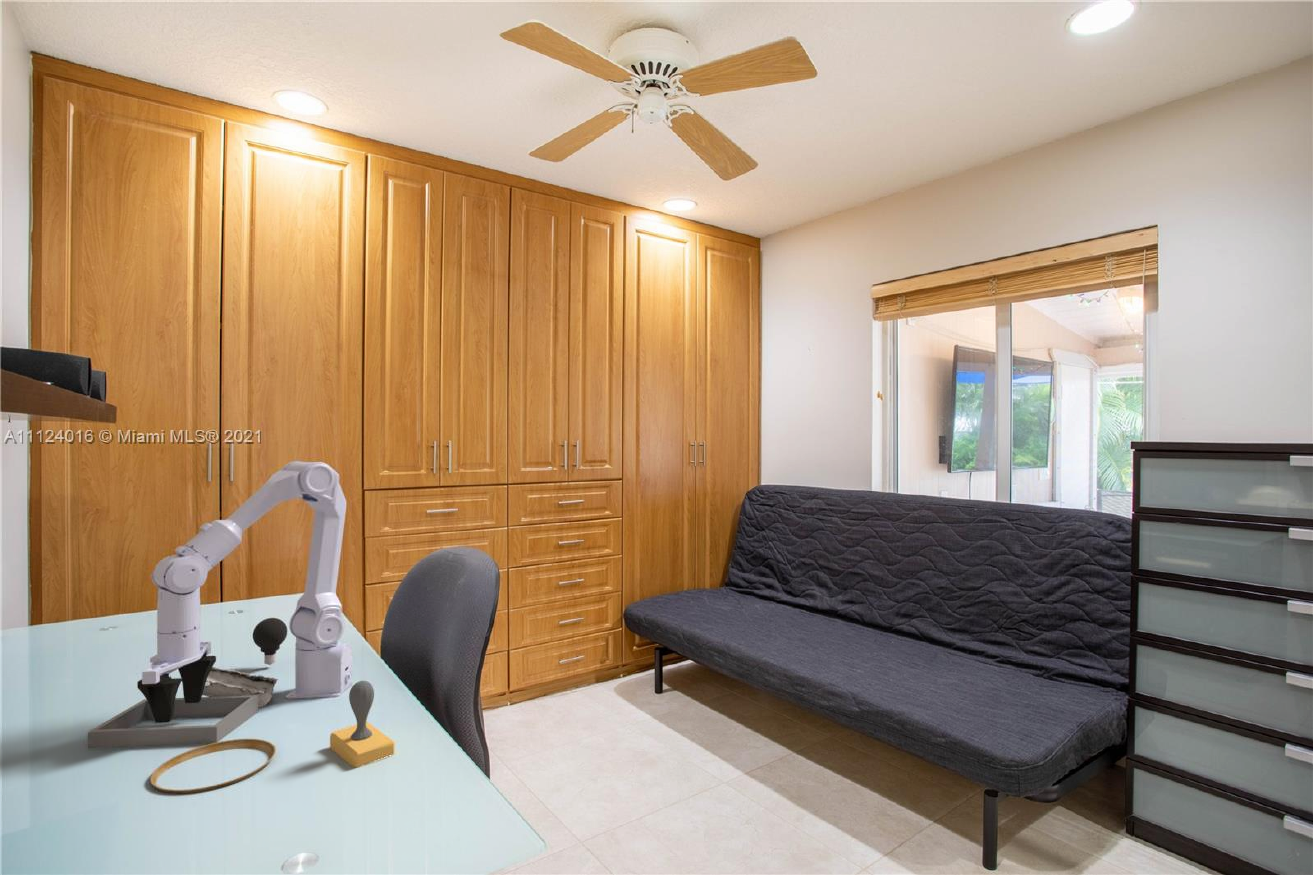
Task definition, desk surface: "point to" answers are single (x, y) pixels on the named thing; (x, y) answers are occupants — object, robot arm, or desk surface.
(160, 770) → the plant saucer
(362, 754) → the rubber stamp
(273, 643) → the light bulb
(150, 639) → the desk surface
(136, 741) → the box
